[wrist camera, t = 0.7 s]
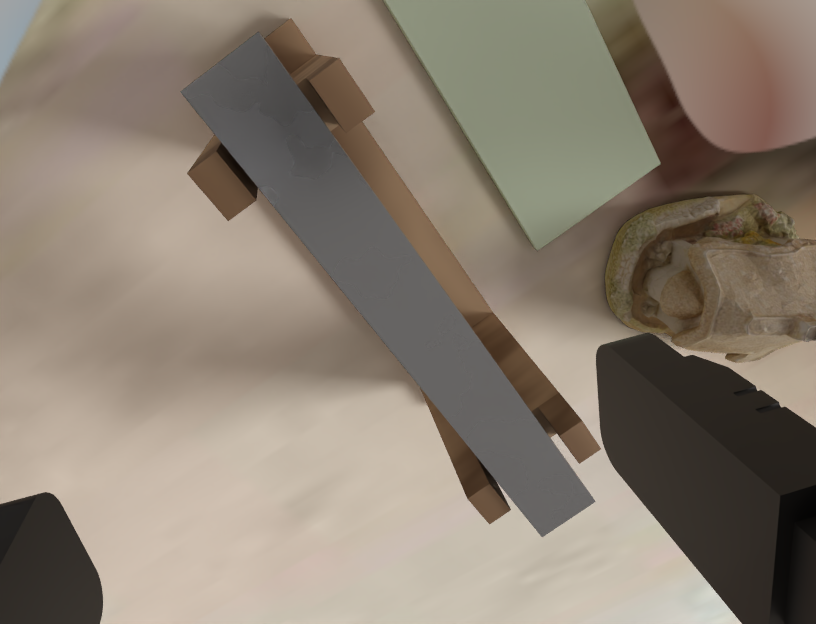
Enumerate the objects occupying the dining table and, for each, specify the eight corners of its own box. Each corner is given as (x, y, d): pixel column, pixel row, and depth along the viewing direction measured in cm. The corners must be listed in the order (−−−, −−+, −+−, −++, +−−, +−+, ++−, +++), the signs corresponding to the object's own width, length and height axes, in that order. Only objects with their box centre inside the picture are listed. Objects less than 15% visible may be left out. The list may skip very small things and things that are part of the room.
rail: (192, 86, 22) (180, 91, 19) (260, 33, 21) (258, 31, 19) (519, 495, 32) (542, 537, 29) (568, 462, 32) (595, 501, 29)
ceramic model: (811, 195, 41) (961, 236, 32) (761, 346, 46) (881, 420, 37) (620, 185, 38) (726, 227, 29) (585, 348, 43) (668, 429, 34)
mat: (505, -161, 30) (509, -165, 30) (655, 162, 38) (660, 163, 38) (355, -45, 31) (356, -47, 30) (533, 248, 39) (537, 251, 38)
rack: (290, 19, 31) (300, 0, 19) (517, 349, 41) (618, 475, 29) (193, 93, 32) (142, 121, 20) (441, 402, 42) (510, 548, 30)
